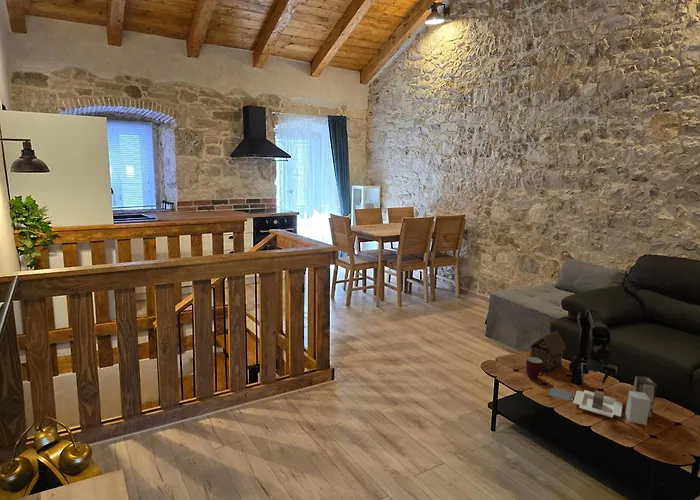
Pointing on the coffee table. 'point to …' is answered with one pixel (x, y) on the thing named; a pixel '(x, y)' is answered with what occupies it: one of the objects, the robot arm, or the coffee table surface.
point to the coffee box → (646, 390)
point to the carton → (608, 407)
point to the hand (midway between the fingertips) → (591, 381)
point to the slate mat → (560, 394)
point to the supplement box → (637, 407)
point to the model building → (549, 351)
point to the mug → (534, 367)
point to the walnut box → (598, 400)
